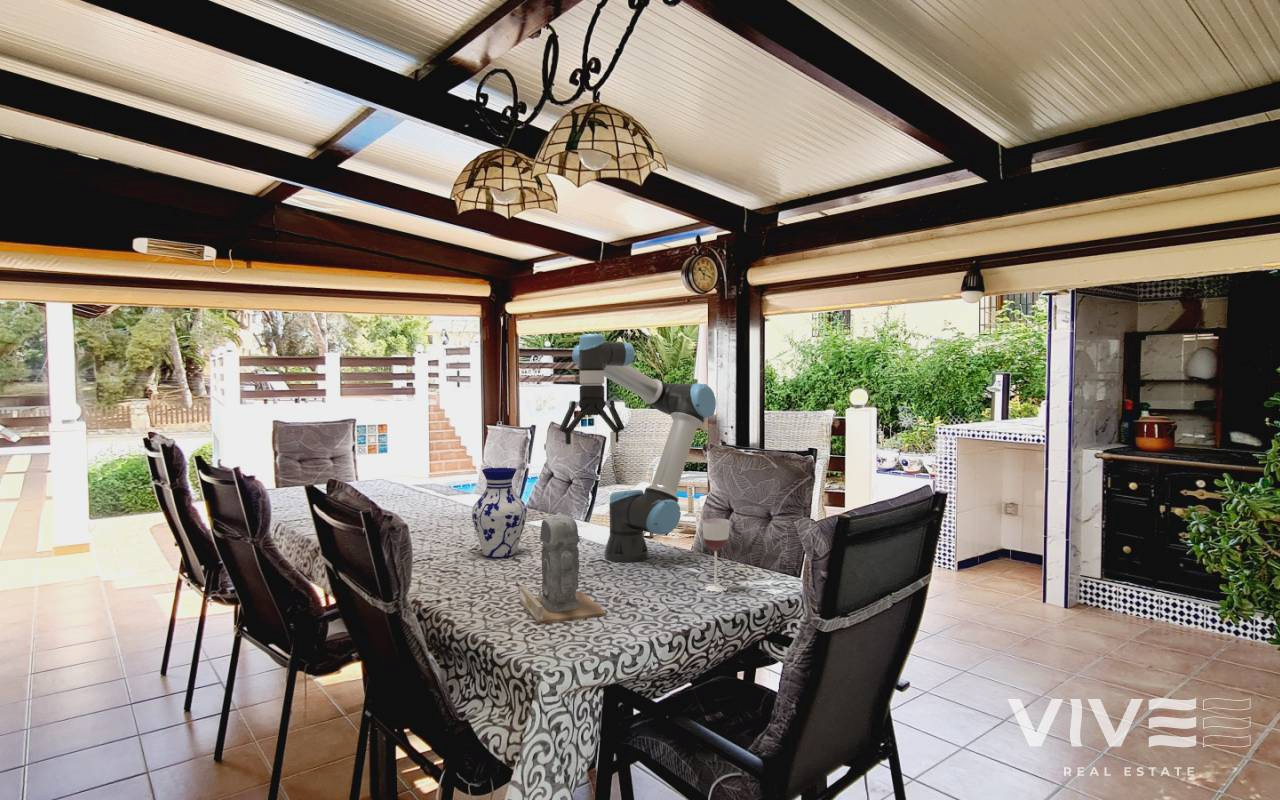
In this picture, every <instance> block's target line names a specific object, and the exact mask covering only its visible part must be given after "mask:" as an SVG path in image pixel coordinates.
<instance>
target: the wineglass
mask: <svg viewBox="0 0 1280 800" xmlns="http://www.w3.org/2000/svg"><path fill="white" fill-rule="evenodd" d="M701 522H702V523H701V525H702V527H701V528H702V536H703V538H702V539H703V542H704V543H705V545H706V546H707V547H708V548H709V549H711V550H712V551H713V552H714V553H713V554H714V559H713V561H714V563H713V565H714V566H713V567H714V568H713V569H714V573H713V575H714V578H713V579H714V580H713V583H714V584H713V585H714V586H713V585H707V586H708V587H706V586H705V587H706V589H707V590H710V591H720V592H721V591H723V590H724V589H725V588H724V587H725V586H723V587H722V585H718V551H719V550H721V549H723V548H724V547H725V546H726V544H727V543H728V541H729V537H730V520H729V519H727V518H715V517H714V518H711V517H710V518H705V519H702V520H701ZM721 593H722V592H721Z"/></svg>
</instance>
